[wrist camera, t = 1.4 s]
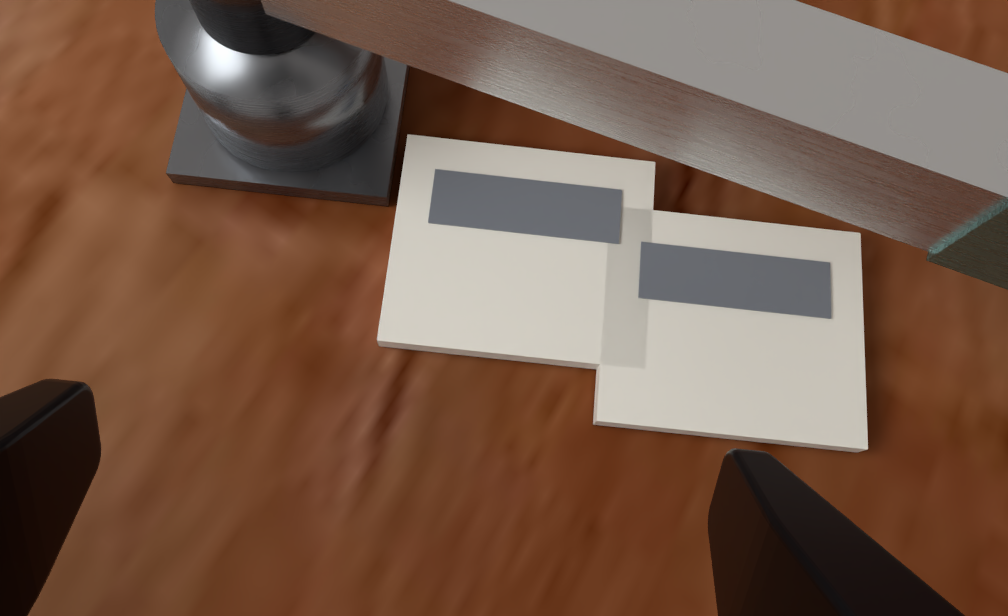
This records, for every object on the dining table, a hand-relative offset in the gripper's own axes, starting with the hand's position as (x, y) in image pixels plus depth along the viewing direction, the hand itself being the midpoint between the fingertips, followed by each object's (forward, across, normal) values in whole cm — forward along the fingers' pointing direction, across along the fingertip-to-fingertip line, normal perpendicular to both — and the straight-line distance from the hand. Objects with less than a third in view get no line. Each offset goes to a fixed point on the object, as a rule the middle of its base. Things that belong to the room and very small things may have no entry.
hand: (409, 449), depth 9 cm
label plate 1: (+14, -1, +4) cm, 14 cm away
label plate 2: (+13, -7, +5) cm, 16 cm away
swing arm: (+12, -2, -1) cm, 12 cm away
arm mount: (+17, +5, +1) cm, 18 cm away
